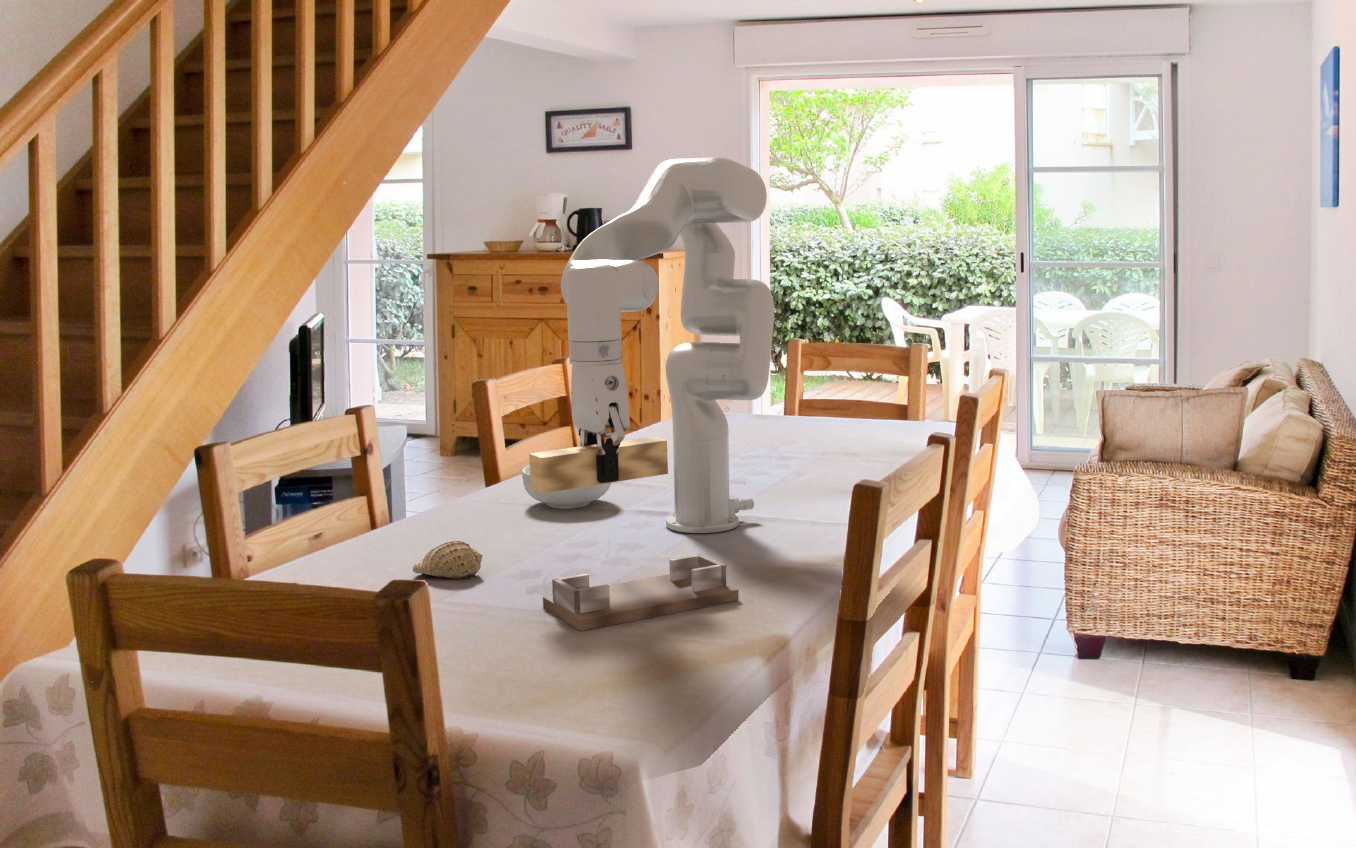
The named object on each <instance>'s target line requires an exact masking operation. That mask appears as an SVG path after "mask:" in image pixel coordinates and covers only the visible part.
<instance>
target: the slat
mask: <svg viewBox="0 0 1356 848" xmlns="http://www.w3.org/2000/svg"><path fill="white" fill-rule="evenodd" d="M528 454H529V455H528V456H529V457H528V459H529V465H530V478H531V488H532V489H534V490H536V491H538V492H541V493H548V492H554V491H561V490H567V489H574V488H580V487H586V486H593V485H599V484H606V483H611V484H612V483H618V482H624V481H630V480H636V479H637V480H638V479H642V478H643V479H644V478H650V477H655V476H656V477H657V476H663V475H669V465H668V464H669V463H668V462H669V461H668V460H669V459H668V458H669V457H668V440H667V439H664V438H661V437H658V436H645V437H638V438H633V439H625V440H624V439H623V440H622V442H621V443H620V446H619V454H618V465H619V479H618V480H617V481H612V482H605V483H599V482H598V481H597V462H596V455H599V451H598V444H594V445H587V446H574V447H567V448H560V449H553V450H544V451H538V452H531V453H530V452H529V453H528Z"/></svg>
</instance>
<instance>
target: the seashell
mask: <svg viewBox="0 0 1356 848" xmlns="http://www.w3.org/2000/svg"><path fill="white" fill-rule="evenodd" d="M482 560H483V554H482V553H480V552H478V550H477V549H474V548H472V547H471V546H470V544H469V543H466V542H464V541H461V540H454V541H449V542H448V541H447V542H445V543H442V544H440V545H438V546H436V547H434V548H433V549H431V550H429V552H427V553H426V555H425V556H424V558H422V560H421V561H420V562H418V563H417V564H416V563H415V564H413V566H412V572H413V573H415V574H425V575H428V576H434V577H439V578H449V579H455V580H457V579H459V580H461V579H467V578H470V577H473V576H475V575H476V574H477V573H478V572H479V571H480V569H481V567H482V566H481V565H482V562H483V561H482Z"/></svg>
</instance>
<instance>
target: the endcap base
mask: <svg viewBox="0 0 1356 848" xmlns="http://www.w3.org/2000/svg"><path fill="white" fill-rule="evenodd" d="M668 560H669V562H668V563H669V574H663V575H659V576H653V577H646V578H641V579H636V580H629V581H624V582H619V583H612V584H599V585H595V586H590V574H588V573H581V574H576V575H569V576H562V577H559V578H553V579H551V585H552V587H551V588H552V594H551V595H550V594H549V595H545V596H542V607H543V608H544V609H545V610H547V611H548V612H550V613H551V614H553V615H555V616H556V617H558V618H559V619H561V620H563V621H564V622H566V623H567V624H569V625H571V626H572V627H574V628H576V630H578V631H580V632H582V631H587V630H593V629H599V628H602V627H603V628H604V627H608V626H614V625H618V624H619V625H620V624H623V623H628V622H629V623H630V622H634V621H639V620H643V619H649V618H654V617H659V616H665V615H670V614H675V613H681V612H685V611H691V610H695V609H699V608H700V609H701V608H706V607H711V606H715V605H716V606H717V605H721V604H726V603H731V602H732V603H733V602H736V601H737V600H738V601H739V589H738V588H735V587H733V586H731V585H729V584H727V564H724V563H722V562H720V561H717V560H715V559H713V558H710V557H708V556H705V555H704V554H702V553H697V554H693V555H688V556H681V557H675V558H670V559H668Z"/></svg>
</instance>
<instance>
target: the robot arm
mask: <svg viewBox="0 0 1356 848" xmlns="http://www.w3.org/2000/svg"><path fill="white" fill-rule="evenodd" d="M767 199H768V198H767V187H766V185H765V182H764V179H763V178H762V177H761V175H760V174H759V173H758V172H757V171H755V170H754V169H752V168H750V167H748V166H747V165H743V164H742V163H740V162H737V161H734V160H733V159H729V158H725V157H720V156H719V157H718V156H709V157H708V156H707V157H689V158H688V157H687V158H686V157H685V158H672V159H668V160H664V161H663V162H661V163H660V164H658V165H657V167H655V168H654V170H653V171H652V172H651V175H650V176H649V177H648V180H647V181H646V183H645V184H644V186H643V187H642V189H641V191H640V193H639V194H638V196H637V198H636V199H635V200H634V202H633V204H632V206H631V207H630V209H629V210H628V211H627V212H625V213H622V214H621V215H618V216H617V217H615V218H613V219H612V220H610V221H608V222H607V223H605V224H603V225H601V226H600V227H598V228H596V229H595V230H594V231H592V232H590V233H589V234H588V235H587V236H585V238H583V239H582V241H580V243H579V244H578V245H577V246H576V248H575V249H574V251H573V253H572V255H571V256H570V257H569V259H568V260H567V263H566V264H565V267H564V269H563V272H562V275H561V280H560V291H561V296H562V299H563V301H564V303H565V304H566V312H567V313H566V314H567V331H568V333H567V335H568V336H567V337H568V338H567V339H568V357H569V364H570V365H571V382H570V387H571V388H570V400H571V401H570V402H571V404H570V405H571V417H572V422H573V424H574V426H575V428H576V430H577V432H578V433H577V434H578V436H579V437H580V441H579V443H580V444H579V445H580V446H587V445H594V444H598V451H599V455H596V462H597V481H598V482H599V483H605V482H612V481H617V480H618V479H619V465H618V454H619V446H620V443H621V442H622V441H623V440H624V439H625V437H626V436H625V432H628V430H629V429H630V427H631V425H630V424H631V423H630V407H629V398H628V397H629V396H628V387H627V380H626V375H625V370H624V364H623V341H622V340H623V339H622V338H623V337H622V313H629V312H630V313H637V312H641V311H644V310H646V309H648V308H649V307H650V306H652V304H653V303H654V302H655V301H656V299H657V297H658V294H659V289H660V283H659V276H658V275H657V272H656V270H655V269H654V268H653V266H651V265H650V264H648V263H647V262H645V261H643V259H647V258H650V257H652V256H654V255H657V254H658V255H659V254H660V253H662V252H664V251H666V250H669V249H670V248H671V247H673V245H674V244H675V243H676V241H677V239H678V238H679V236H680V237H681V240H682V244H683V247H684V269H683V277H682V278H683V279H682V288H681V289H682V290H681V298H680V299H681V301H680V321H681V325H682V327H683V328H684V329H685V330H686V331H687V332H688V333H691V334H694V335H700V336H718V337H719V336H721V337H722V336H724V337H728V336H729V337H731V336H732V337H739V342H714V341H709V342H708V341H707V342H706V341H705V342H704V341H693V342H692V341H691V342H685V343H682V344H678V345H677V346H675V347H673V349H671V350H670V352H669V353H668V355H667V358H666V359H665V376H666V377H665V378H666V381H667V386H668V387H667V388H668V391H669V397H670V398H669V399H670V405H671V416H672V450H673V451H672V453H673V455H672V456H673V497H674V498H673V499H674V507H673V508H674V514H672V515H669V516H668V517H666V519H665V526H666V527H667V528H668V529H669V530H672V531H675V532H679V533H689V534H711V533H712V534H713V533H714V534H715V533H722V532H726V531H730V530H734V529H735V528H737V527H738V526H739V524H740V519H739V517H738V516H737V515H736V514H738V513H739V512H740V511H747V510H748V511H749V510H753V509H754V507H755V502H754V500H753V498H751V497H750V498H749V497H748V498H743V499H739V498H738V497H737V498H734V497H731V496H730V458H729V457H730V452H729V451H730V448H729V446H730V444H729V436H730V434H729V433H730V432H729V429H730V428H729V424H728V423H729V421H728V419H727V417H726V414H725V413H724V411H723V409H722V407H721V406H720V405H719V404H718V402H717V400H729V401H754V400H757V399H759V398H761V397H762V396H763V395H764V393H765V392H766V389H767V387H768V383H769V377H770V367H771V355H772V343H773V333H774V321H775V306H774V297H773V294H772V292H771V289H770V288H769V286H768V285H767V284H766V283H765V282H763V281H760V280H758V279H750V278H748V279H747V278H745V279H741V278H740V279H739V278H738V279H737V278H736V279H735V278H734V276H735V261H736V252H735V249H734V247H733V245H732V243H731V241H730V239H729V238H728V236H727V235H726V233H725V232H724V231H723V230H722V229H721V227H720V226H719V224H720V223H721V224H725V223H726V224H728V223H751V222H755V221H756V220H758V219H759V218H760V216H762V214H763V213H764V211H765V208H766V205H767ZM607 429H610V431H608V432H607ZM605 438H606V440H605ZM580 446H579V447H580ZM612 483H613V482H612Z"/></svg>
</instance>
